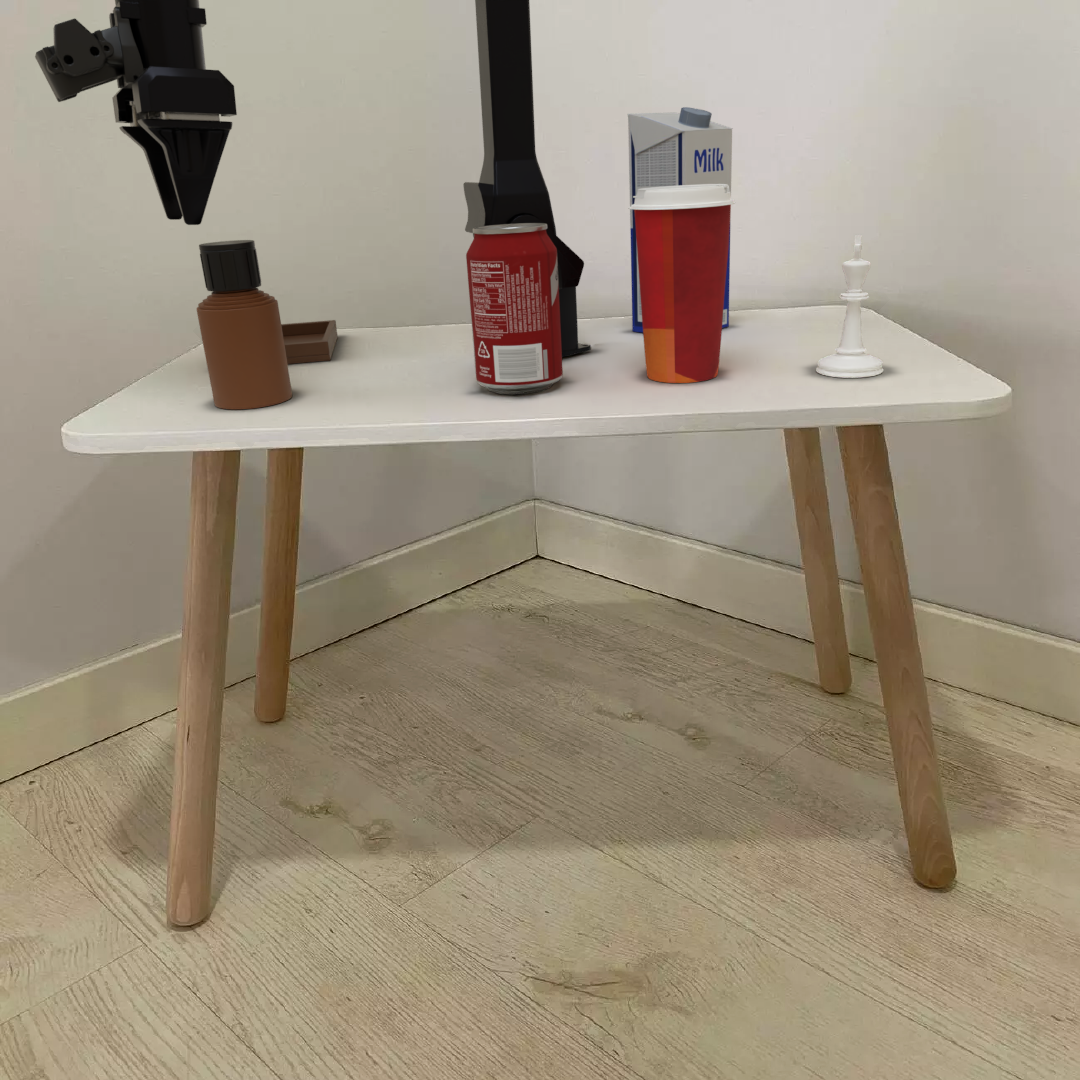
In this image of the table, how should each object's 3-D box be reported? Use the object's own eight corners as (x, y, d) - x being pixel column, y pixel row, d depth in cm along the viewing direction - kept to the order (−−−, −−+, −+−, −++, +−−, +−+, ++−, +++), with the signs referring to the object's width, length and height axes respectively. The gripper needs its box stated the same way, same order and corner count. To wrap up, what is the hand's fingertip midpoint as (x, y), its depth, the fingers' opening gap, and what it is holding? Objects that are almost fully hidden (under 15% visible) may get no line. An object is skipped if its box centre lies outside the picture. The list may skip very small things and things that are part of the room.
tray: (330, 360, 89) (327, 341, 88) (218, 369, 88) (215, 350, 87) (337, 336, 101) (335, 319, 100) (239, 344, 100) (236, 327, 99)
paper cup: (738, 365, 77) (742, 181, 72) (723, 387, 70) (726, 186, 65) (644, 364, 80) (641, 186, 74) (621, 385, 73) (616, 191, 68)
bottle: (306, 397, 75) (283, 246, 71) (236, 413, 71) (207, 255, 67) (269, 387, 79) (245, 244, 75) (201, 402, 75) (172, 252, 71)
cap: (271, 285, 72) (263, 240, 71) (221, 293, 69) (213, 246, 68) (246, 283, 75) (238, 239, 73) (198, 289, 72) (189, 244, 71)
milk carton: (677, 320, 98) (676, 109, 91) (730, 326, 94) (734, 104, 86) (630, 331, 94) (626, 111, 86) (683, 338, 89) (683, 105, 82)
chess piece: (812, 377, 72) (819, 239, 68) (819, 363, 76) (827, 232, 72) (881, 378, 70) (892, 237, 66) (885, 364, 74) (896, 231, 70)
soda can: (554, 397, 70) (545, 227, 66) (466, 397, 72) (452, 231, 67) (569, 376, 77) (563, 220, 72) (489, 377, 78) (477, 224, 74)
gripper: (28, 2, 72) (63, 218, 78) (35, -43, 57) (77, 229, 63) (181, 15, 77) (203, 216, 83) (225, -24, 62) (249, 227, 68)
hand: (183, 221), depth 74 cm, fingers open, 9 cm apart
